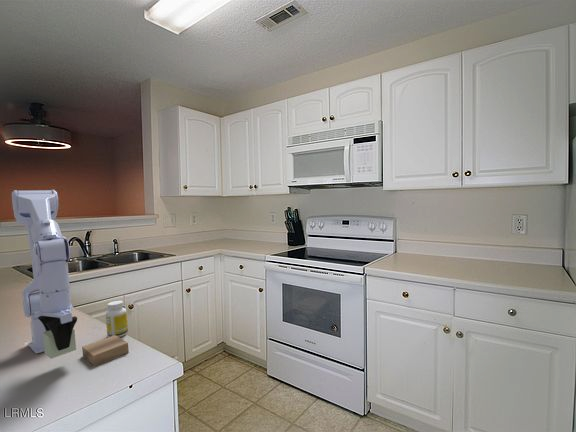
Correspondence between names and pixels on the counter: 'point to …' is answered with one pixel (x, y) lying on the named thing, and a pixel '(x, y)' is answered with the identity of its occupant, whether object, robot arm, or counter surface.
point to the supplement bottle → (116, 319)
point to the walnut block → (105, 350)
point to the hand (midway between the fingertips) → (59, 345)
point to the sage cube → (51, 346)
